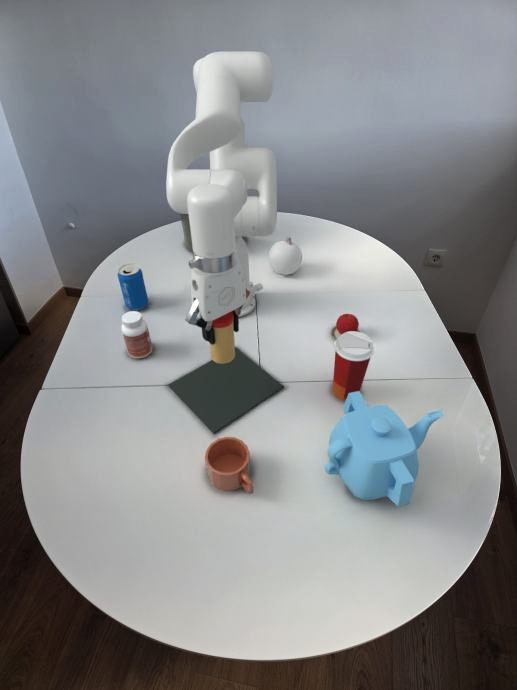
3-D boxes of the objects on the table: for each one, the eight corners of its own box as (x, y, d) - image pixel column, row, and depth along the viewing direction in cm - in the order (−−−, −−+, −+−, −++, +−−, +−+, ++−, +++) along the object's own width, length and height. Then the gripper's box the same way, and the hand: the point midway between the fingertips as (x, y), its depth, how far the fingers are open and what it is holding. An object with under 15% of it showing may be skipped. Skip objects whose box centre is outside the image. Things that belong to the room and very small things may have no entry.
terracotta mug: (199, 469, 84) (196, 453, 80) (232, 446, 88) (231, 429, 84) (234, 511, 77) (233, 495, 74) (268, 484, 81) (269, 468, 78)
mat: (235, 348, 110) (235, 346, 109) (283, 387, 100) (283, 386, 99) (168, 386, 100) (168, 384, 100) (214, 434, 90) (213, 432, 90)
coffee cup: (366, 382, 101) (377, 334, 90) (360, 408, 95) (372, 359, 85) (331, 374, 103) (338, 326, 93) (323, 399, 97) (330, 350, 87)
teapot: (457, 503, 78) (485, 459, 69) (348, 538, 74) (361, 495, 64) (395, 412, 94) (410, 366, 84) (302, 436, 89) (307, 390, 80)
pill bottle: (156, 353, 108) (148, 319, 101) (133, 362, 106) (123, 328, 99) (147, 339, 112) (138, 305, 105) (124, 348, 110) (114, 314, 102)
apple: (325, 339, 112) (328, 319, 108) (336, 322, 117) (339, 303, 113) (355, 349, 109) (359, 329, 105) (364, 331, 114) (368, 311, 110)
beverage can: (121, 308, 122) (111, 272, 114) (134, 296, 127) (125, 260, 119) (140, 314, 121) (131, 277, 113) (153, 301, 125) (145, 265, 117)
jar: (225, 343, 96) (222, 303, 88) (240, 356, 93) (238, 315, 85) (205, 354, 93) (200, 314, 86) (220, 367, 90) (216, 327, 83)
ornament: (306, 269, 137) (309, 234, 129) (290, 284, 131) (292, 249, 123) (278, 260, 142) (279, 226, 134) (262, 274, 135) (262, 240, 127)
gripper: (186, 283, 71) (197, 363, 83) (264, 249, 79) (264, 326, 91) (162, 265, 75) (176, 343, 87) (239, 235, 83) (242, 310, 95)
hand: (221, 333), depth 89 cm, fingers closed on jar, 5 cm apart
